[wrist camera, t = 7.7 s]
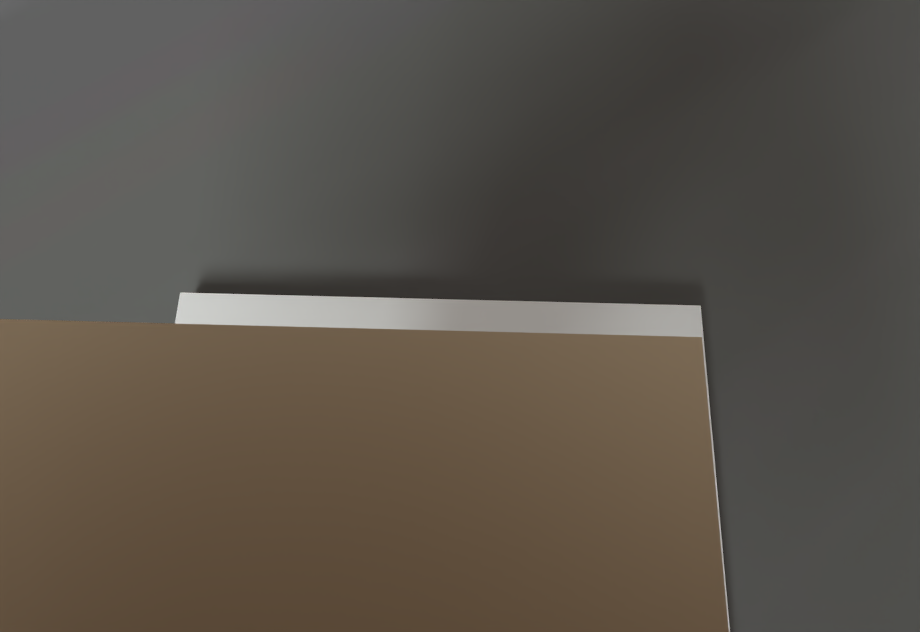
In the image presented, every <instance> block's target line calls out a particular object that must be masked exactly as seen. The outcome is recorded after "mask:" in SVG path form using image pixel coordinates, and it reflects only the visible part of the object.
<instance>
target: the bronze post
mask: <svg viewBox="0 0 920 632" xmlns="http://www.w3.org/2000/svg"><path fill="white" fill-rule="evenodd" d="M0 632H729V628H728V617H727V606H726V595H725V585H724V574H723V563H722V552H721V541H720V530H719V519H718V508H717V497H716V486H715V475H714V464H713V453H712V442H711V431H710V420H709V409H708V398H707V387H706V376H705V366H704V355H703V344H702V337H681V336H641V335H602V334H563V333H524V332H485V331H446V330H407V329H368V328H329V327H290V326H251V325H212V324H173V323H133V322H94V321H55V320H16V319H0Z"/></svg>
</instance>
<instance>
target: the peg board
mask: <svg viewBox="0 0 920 632" xmlns="http://www.w3.org/2000/svg"><path fill="white" fill-rule="evenodd" d="M175 324H212V325H251V326H290V327H329V328H368V329H407V330H446V331H485V332H524V333H563V334H602V335H641V336H681V337H702V344H703V355H704V366H705V376H706V387H707V398H708V409H709V420H710V431H711V442H712V453H713V464H714V475H715V486H716V497H717V508H718V519H719V530H720V541H721V552H722V563H723V574H724V585H725V595H726V606H727V617H728V628H729V632H730V626H729V615H728V603H727V592H726V581H725V570H724V559H723V548H722V537H721V526H720V515H719V504H718V492H717V481H716V470H715V459H714V448H713V437H712V426H711V415H710V404H709V393H708V381H707V370H706V359H705V348H704V337H703V326H702V315H701V306H697V305H657V304H617V303H577V302H536V301H496V300H456V299H416V298H376V297H336V296H296V295H255V294H215V293H180V297H179V303H178V309H177V315H176V320H175Z"/></svg>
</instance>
